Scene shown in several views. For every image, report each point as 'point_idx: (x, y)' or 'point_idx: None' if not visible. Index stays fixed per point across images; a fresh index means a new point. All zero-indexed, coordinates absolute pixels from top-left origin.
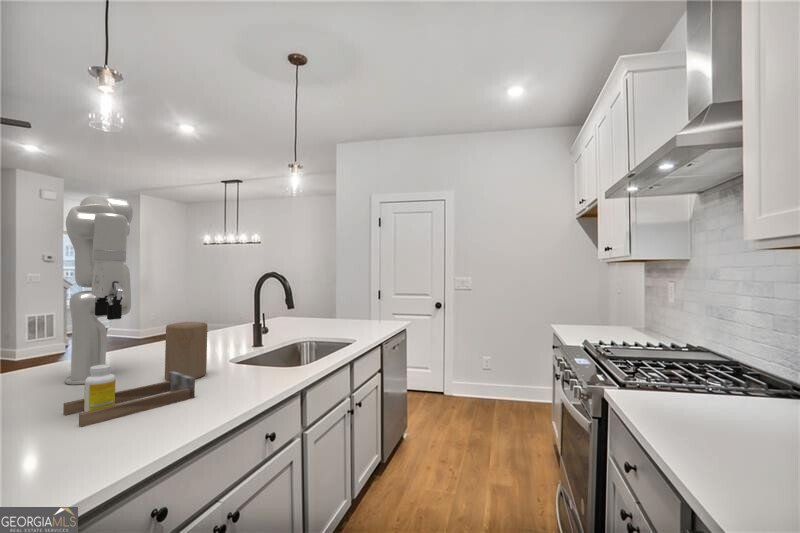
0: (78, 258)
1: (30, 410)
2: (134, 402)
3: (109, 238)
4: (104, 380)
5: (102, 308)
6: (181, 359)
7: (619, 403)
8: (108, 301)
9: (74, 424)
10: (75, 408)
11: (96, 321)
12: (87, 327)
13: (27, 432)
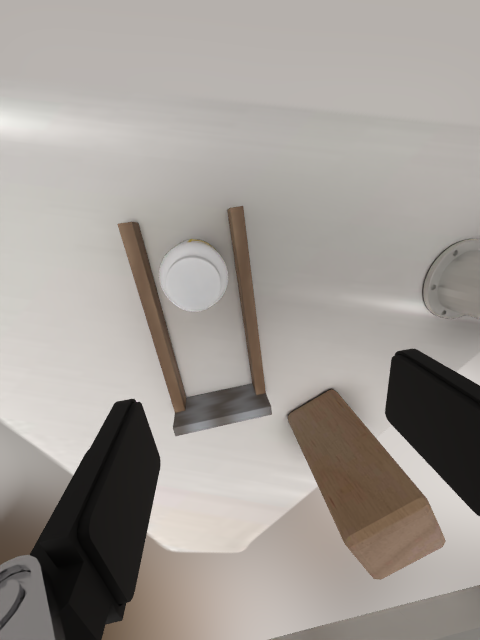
0: None
1: (318, 156)
2: (147, 321)
3: None
4: (160, 283)
5: (433, 425)
6: (317, 442)
7: None
8: (41, 626)
9: (152, 217)
10: (231, 228)
11: None
12: None
13: (158, 133)
